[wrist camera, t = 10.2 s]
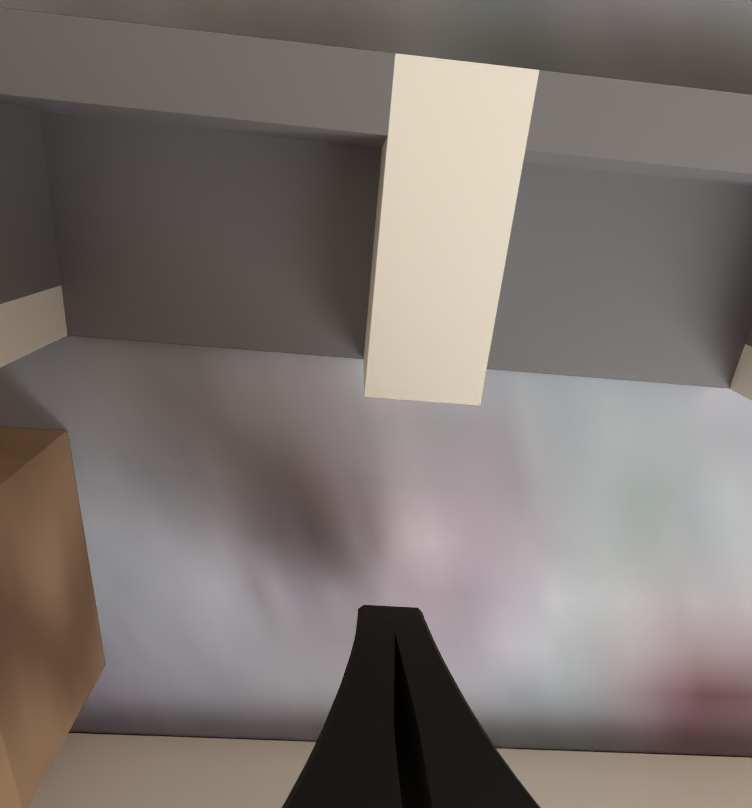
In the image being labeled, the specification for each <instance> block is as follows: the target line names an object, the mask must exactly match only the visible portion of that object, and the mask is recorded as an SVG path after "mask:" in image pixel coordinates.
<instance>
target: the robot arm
mask: <svg viewBox="0 0 752 808" xmlns="http://www.w3.org/2000/svg"><path fill="white" fill-rule="evenodd" d="M282 808H540V806H539V805H538V804H537V803H536V801H535V800H534V799H533V798H532V796H531V795H530V794H529V792H528V791H527V790H526V788H525V787H524V786H523V785H522V783H521V782H520V781H519V779H518V778H517V777H516V775H515V774H514V773H513V771H512V770H511V769H510V767H509V766H508V764H507V763H506V762H505V760H504V759H503V758H502V756H501V755H500V753H499V752H498V750H497V749H496V747H495V746H494V745H493V743H492V742H491V740H490V739H489V737H488V735H487V734H486V732H485V731H484V729H483V728H482V726H481V725H480V723H479V721H478V720H477V718H476V717H475V715H474V713H473V712H472V710H471V709H470V707H469V705H468V704H467V702H466V700H465V698H464V697H463V695H462V693H461V691H460V690H459V688H458V686H457V684H456V682H455V681H454V679H453V677H452V675H451V673H450V672H449V670H448V668H447V666H446V664H445V662H444V660H443V658H442V656H441V654H440V652H439V650H438V648H437V646H436V644H435V642H434V640H433V637H432V635H431V633H430V631H429V628H428V626H427V624H426V621H425V619H424V616H423V614H422V612H421V611H420V610H419V608H410V607H391V606H372V605H363V606H362V607H360V608H359V609H358V618H357V627H356V635H355V640H354V643H353V647H352V651H351V655H350V658H349V661H348V664H347V667H346V670H345V673H344V676H343V679H342V682H341V685H340V688H339V690H338V693H337V695H336V698H335V700H334V702H333V705H332V707H331V710H330V712H329V715H328V717H327V720H326V722H325V724H324V726H323V729H322V731H321V733H320V735H319V737H318V739H317V742H316V744H315V746H314V748H313V750H312V752H311V754H310V756H309V758H308V760H307V762H306V764H305V766H304V768H303V770H302V772H301V773H300V775H299V777H298V779H297V781H296V783H295V784H294V786H293V788H292V790H291V792H290V794H289V796H288V797H287V799H286V801H285V803H284V804H283V806H282Z"/></svg>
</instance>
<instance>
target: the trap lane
mask: <svg viewBox="0 0 752 808" xmlns="http://www.w3.org/2000/svg"><path fill="white" fill-rule="evenodd" d="M67 335H70V336H83V337H95V338H108V339H120V340H133V341H145V342H158V343H170V344H182V345H195V346H207V347H220V348H232V349H245V350H257V351H269V352H282V353H294V354H307V355H319V356H332V357H344V358H357V359H364V397H376V398H389V399H402V400H415V401H428V402H441V403H454V404H468V405H480V402H481V397H482V391H483V386H484V380H485V374H486V369H493V370H506V371H518V372H531V373H543V374H556V375H568V376H580V377H593V378H605V379H618V380H630V381H643V382H655V383H668V384H680V385H692V386H705V387H717V388H729V389H731V390H733V391H735V392H737V393H739V394H741V395H743V396H744V397H746V398H748V399H750V400H752V95H750V94H742V93H733V92H725V91H716V90H707V89H699V88H690V87H682V86H673V85H664V84H656V83H647V82H638V81H630V80H621V79H613V78H604V77H595V76H587V75H578V74H569V73H561V72H552V71H544V70H535V69H526V68H518V67H509V66H500V65H492V64H483V63H475V62H466V61H457V60H449V59H440V58H432V57H423V56H414V55H406V54H397V53H388V52H380V51H371V50H363V49H354V48H345V47H337V46H328V45H319V44H311V43H302V42H294V41H285V40H276V39H268V38H259V37H251V36H242V35H233V34H225V33H216V32H207V31H199V30H190V29H182V28H173V27H164V26H156V25H147V24H138V23H130V22H121V21H113V20H104V19H95V18H87V17H78V16H69V15H61V14H52V13H44V12H35V11H26V10H18V9H9V8H1V7H0V368H1V367H3V366H5V365H7V364H9V363H11V362H13V361H15V360H18V359H20V358H22V357H24V356H26V355H28V354H30V353H32V352H34V351H36V350H38V349H40V348H42V347H44V346H46V345H48V344H51V343H53V342H55V341H57V340H59V339H61V338H63V337H65V336H67ZM315 744H316V742H304V741H276V740H248V739H221V738H193V737H165V736H137V735H110V734H82V733H68V735H67V736H66V738H65V740H64V742H63V744H62V746H61V748H60V749H59V751H58V753H57V755H56V757H55V759H54V760H53V762H52V764H51V766H50V768H49V770H48V772H47V773H46V775H45V777H44V779H43V781H42V783H41V785H40V786H39V788H38V790H37V792H36V794H35V796H34V798H33V799H32V801H31V803H30V805H29V807H28V808H282V806H283V804H284V803H285V801H286V799H287V797H288V796H289V794H290V792H291V790H292V788H293V786H294V784H295V783H296V781H297V779H298V777H299V775H300V773H301V772H302V770H303V768H304V766H305V764H306V762H307V760H308V758H309V756H310V754H311V752H312V750H313V748H314V746H315ZM496 749H497V748H496ZM497 750H498V752H499V753H500V755H501V756H502V758H503V759H504V760H505V762H506V763H507V764H508V766H509V767H510V769H511V770H512V771H513V773H514V774H515V775H516V777H517V778H518V779H519V781H520V782H521V783H522V785H523V786H524V787H525V788H526V790H527V791H528V792H529V794H530V795H531V796H532V798H533V799H534V800H535V801H536V803H537V804H538V805H539V806H540V808H752V758H746V757H719V756H691V755H663V754H636V753H608V752H580V751H553V750H525V749H497Z"/></svg>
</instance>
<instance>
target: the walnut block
mask: <svg viewBox="0 0 752 808" xmlns="http://www.w3.org/2000/svg"><path fill="white" fill-rule="evenodd" d="M104 666H105V658H104V651H103V645H102V639H101V633H100V627H99V621H98V615H97V608H96V602H95V596H94V590H93V584H92V578H91V572H90V566H89V559H88V553H87V547H86V541H85V535H84V529H83V523H82V516H81V510H80V504H79V498H78V492H77V486H76V480H75V474H74V467H73V461H72V455H71V449H70V443H69V437H68V431H67V430H49V429H28V428H6V427H0V808H28V807H29V805H30V803H31V801H32V799H33V798H34V796H35V794H36V792H37V790H38V788H39V786H40V785H41V783H42V781H43V779H44V777H45V775H46V773H47V772H48V770H49V768H50V766H51V764H52V762H53V760H54V759H55V757H56V755H57V753H58V751H59V749H60V748H61V746H62V744H63V742H64V740H65V738H66V736H67V735H68V733H69V731H70V729H71V727H72V725H73V723H74V722H75V720H76V718H77V716H78V714H79V712H80V710H81V709H82V707H83V705H84V703H85V701H86V699H87V698H88V696H89V694H90V692H91V690H92V688H93V686H94V685H95V683H96V681H97V679H98V677H99V675H100V673H101V672H102V670H103V668H104Z"/></svg>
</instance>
